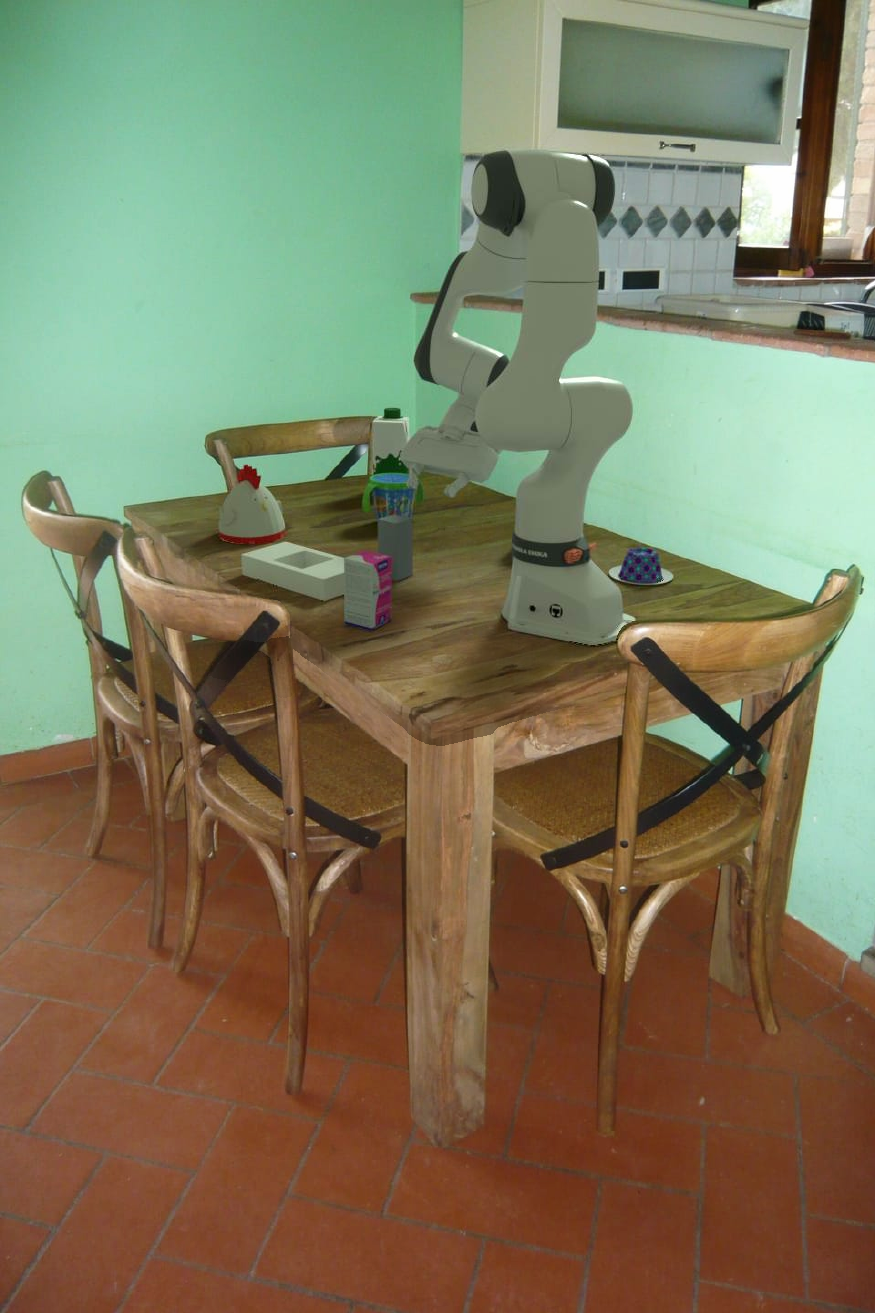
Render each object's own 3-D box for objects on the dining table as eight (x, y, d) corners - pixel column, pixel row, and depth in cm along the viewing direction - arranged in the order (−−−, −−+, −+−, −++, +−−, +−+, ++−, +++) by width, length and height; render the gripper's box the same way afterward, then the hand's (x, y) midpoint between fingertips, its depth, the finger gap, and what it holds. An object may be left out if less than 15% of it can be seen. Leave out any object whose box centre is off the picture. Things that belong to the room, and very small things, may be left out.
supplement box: (373, 632, 160) (371, 564, 156) (343, 624, 163) (341, 558, 158) (393, 621, 165) (392, 554, 160) (364, 614, 168) (362, 549, 163)
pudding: (665, 592, 180) (667, 564, 178) (600, 582, 184) (602, 555, 182) (678, 573, 190) (681, 546, 188) (617, 564, 194) (619, 539, 192)
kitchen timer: (240, 549, 201) (235, 475, 196) (207, 534, 211) (200, 464, 205) (298, 536, 210) (294, 466, 204) (263, 523, 219) (258, 455, 213)
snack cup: (411, 512, 228) (410, 468, 224) (436, 523, 220) (436, 477, 216) (351, 522, 220) (350, 477, 216) (375, 533, 212) (374, 486, 208)
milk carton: (412, 489, 249) (412, 407, 241) (405, 497, 241) (404, 414, 233) (378, 487, 250) (376, 406, 242) (370, 496, 242) (368, 412, 234)
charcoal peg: (412, 575, 187) (412, 518, 182) (396, 581, 183) (395, 523, 179) (394, 570, 189) (394, 514, 185) (378, 576, 186) (377, 519, 182)
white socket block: (368, 585, 181) (367, 564, 179) (324, 601, 173) (323, 579, 172) (286, 561, 194) (285, 541, 192) (242, 574, 186) (241, 554, 185)
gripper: (413, 415, 194) (380, 473, 191) (497, 427, 182) (463, 490, 179) (428, 434, 199) (396, 491, 196) (511, 448, 187) (477, 509, 184)
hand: (428, 491), depth 187 cm, fingers open, 8 cm apart
